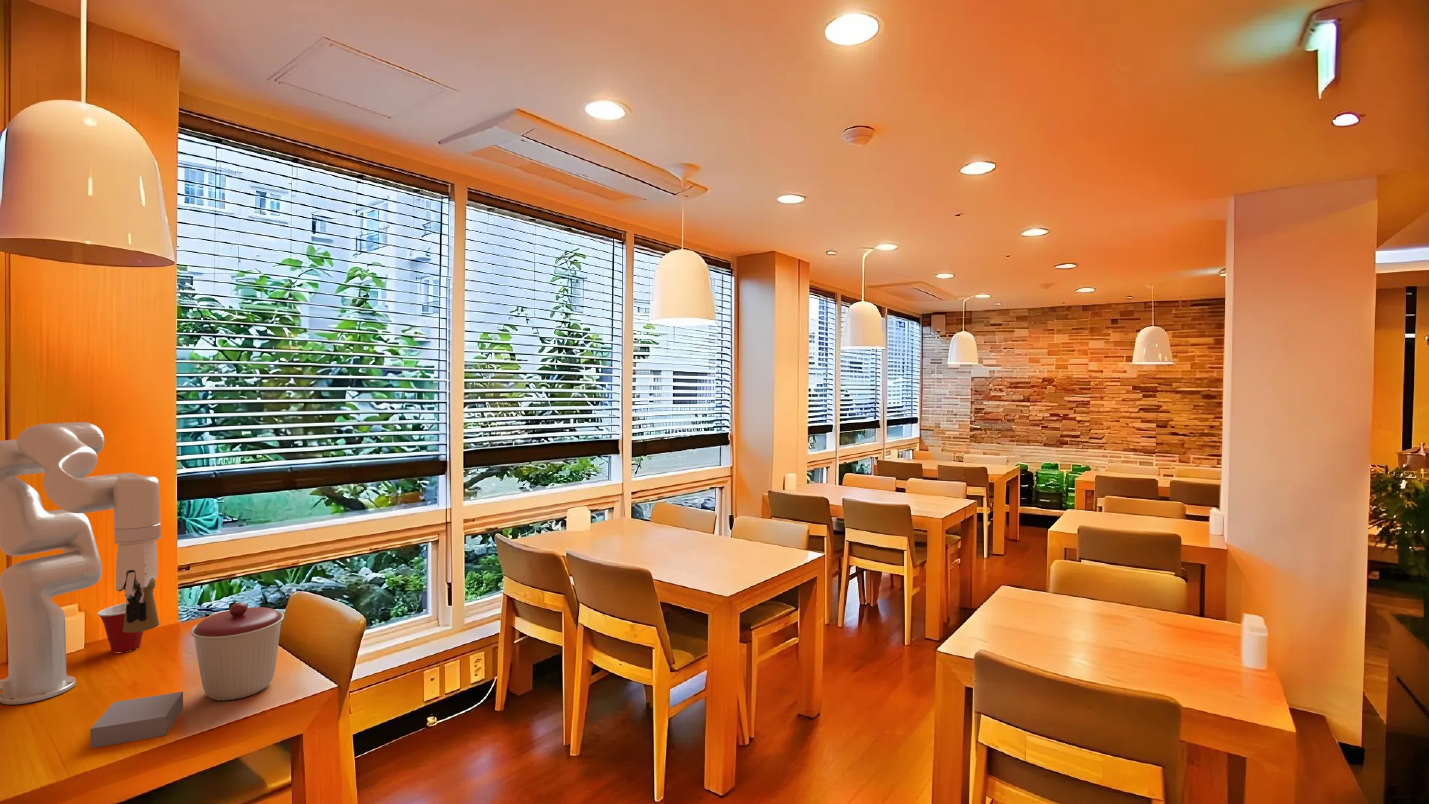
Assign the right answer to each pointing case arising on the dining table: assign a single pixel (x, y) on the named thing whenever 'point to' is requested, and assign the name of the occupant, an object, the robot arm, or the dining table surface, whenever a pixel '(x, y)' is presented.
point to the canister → (237, 650)
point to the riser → (137, 719)
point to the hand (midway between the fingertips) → (140, 617)
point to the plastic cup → (119, 629)
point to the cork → (151, 612)
